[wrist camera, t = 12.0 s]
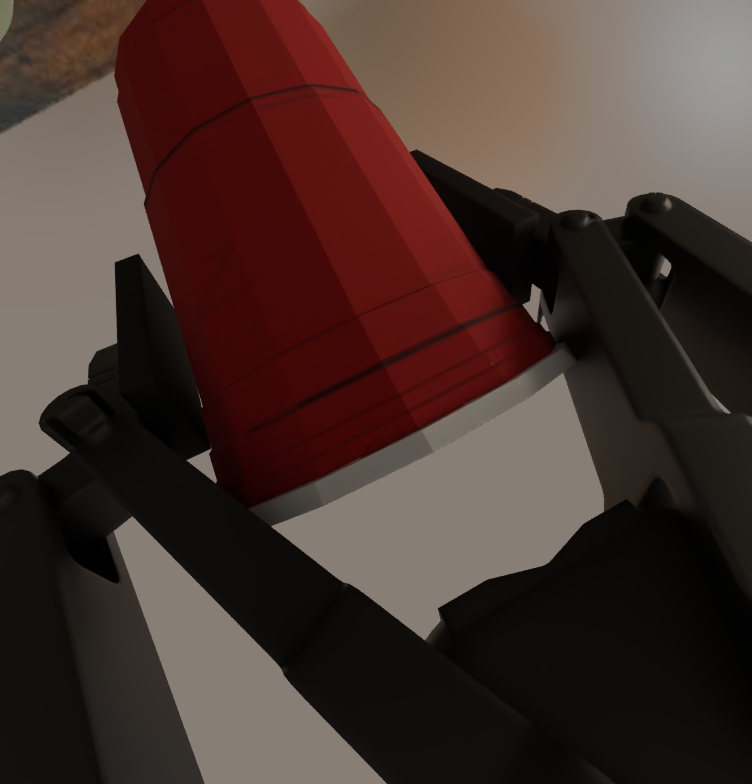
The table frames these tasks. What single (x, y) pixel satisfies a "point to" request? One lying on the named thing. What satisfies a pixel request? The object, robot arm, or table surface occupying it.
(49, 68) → the table surface
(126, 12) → the table surface
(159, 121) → the plastic cup
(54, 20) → the table surface
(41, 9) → the table surface
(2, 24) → the coaster
